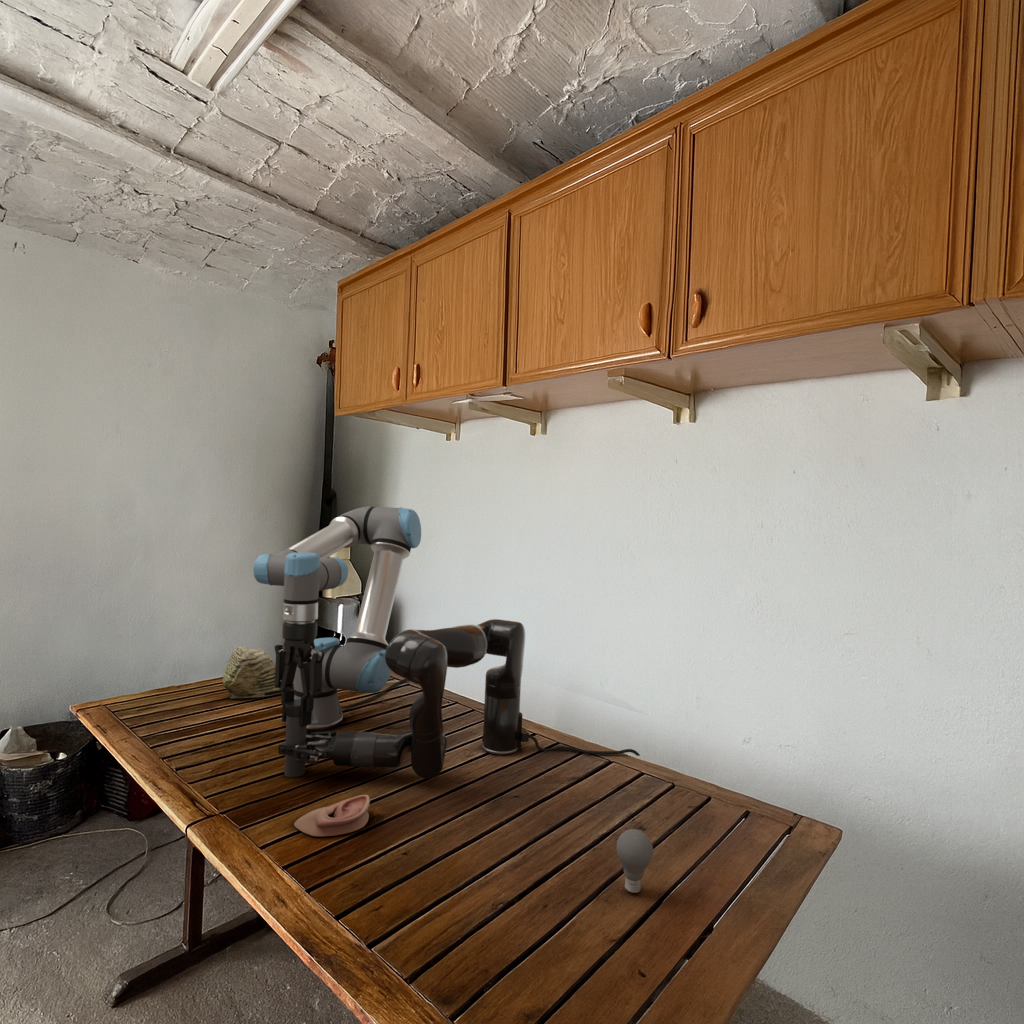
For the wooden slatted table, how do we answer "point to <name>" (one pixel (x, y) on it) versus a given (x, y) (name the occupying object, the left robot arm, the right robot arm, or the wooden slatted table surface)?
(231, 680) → the fossil
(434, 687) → the right robot arm
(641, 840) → the light bulb
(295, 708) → the lid
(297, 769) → the dark grey cylinder
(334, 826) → the anatomical model
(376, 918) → the wooden slatted table surface
